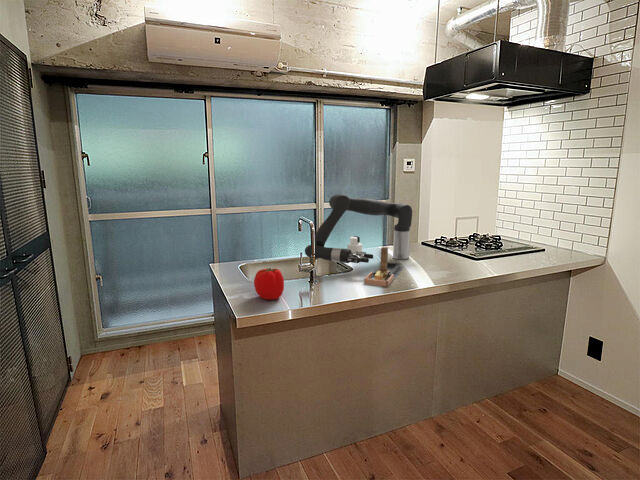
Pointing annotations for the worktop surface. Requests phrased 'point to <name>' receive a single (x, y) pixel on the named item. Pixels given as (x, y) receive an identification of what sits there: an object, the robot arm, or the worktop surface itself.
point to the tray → (377, 282)
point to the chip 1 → (379, 276)
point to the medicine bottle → (355, 244)
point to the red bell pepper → (269, 283)
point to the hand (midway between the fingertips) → (370, 258)
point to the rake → (384, 260)
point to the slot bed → (391, 269)
